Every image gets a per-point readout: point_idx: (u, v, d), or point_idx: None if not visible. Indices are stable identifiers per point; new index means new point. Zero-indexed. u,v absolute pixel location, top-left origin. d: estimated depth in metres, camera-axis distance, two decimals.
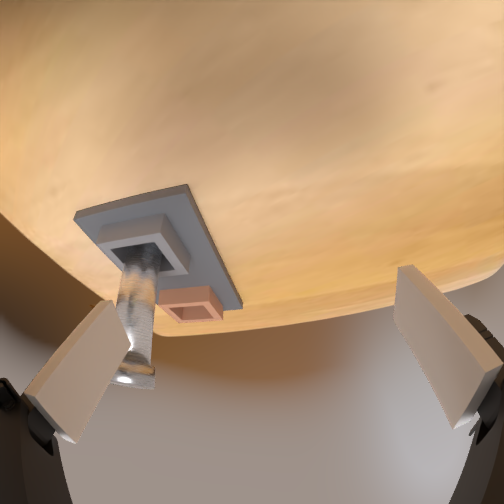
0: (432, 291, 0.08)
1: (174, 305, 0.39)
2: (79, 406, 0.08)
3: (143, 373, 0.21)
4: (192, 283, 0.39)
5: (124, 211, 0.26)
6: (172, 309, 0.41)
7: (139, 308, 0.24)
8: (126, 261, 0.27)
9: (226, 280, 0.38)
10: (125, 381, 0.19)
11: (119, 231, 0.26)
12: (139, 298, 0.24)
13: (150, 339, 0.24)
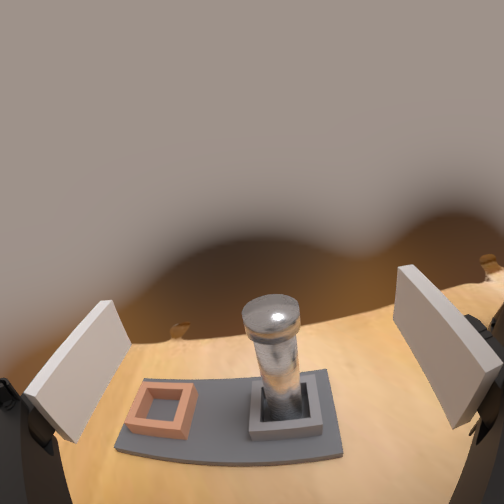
0: (432, 291, 0.08)
1: (185, 396, 0.31)
2: (79, 406, 0.08)
3: (285, 332, 0.22)
4: (197, 426, 0.29)
5: (329, 407, 0.29)
6: (173, 390, 0.33)
7: (294, 373, 0.25)
8: None
9: (190, 458, 0.24)
10: (295, 313, 0.23)
11: None
12: (295, 379, 0.25)
13: (273, 362, 0.24)
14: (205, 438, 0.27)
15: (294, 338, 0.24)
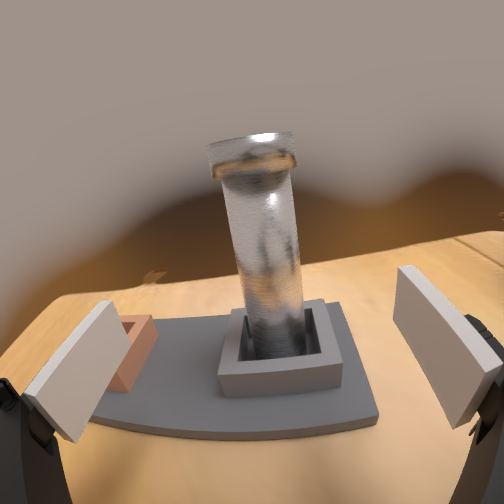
0: (432, 291, 0.08)
1: (136, 329, 0.23)
2: (79, 406, 0.08)
3: (270, 153, 0.13)
4: (148, 375, 0.20)
5: (347, 347, 0.20)
6: (124, 324, 0.24)
7: (291, 258, 0.16)
8: None
9: (126, 419, 0.16)
10: (287, 133, 0.14)
11: None
12: (293, 272, 0.16)
13: (254, 223, 0.15)
14: (155, 391, 0.18)
15: (288, 185, 0.15)
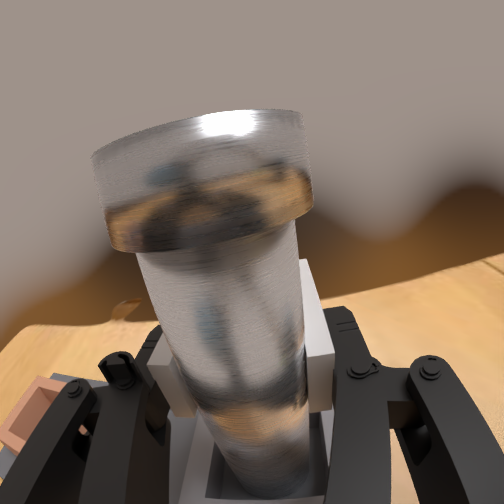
0: (306, 282, 0.11)
1: None
2: None
3: (237, 178, 0.04)
4: None
5: None
6: None
7: (291, 396, 0.07)
8: None
9: None
10: (291, 115, 0.05)
11: None
12: (295, 413, 0.07)
13: (206, 352, 0.06)
14: None
15: (292, 254, 0.06)
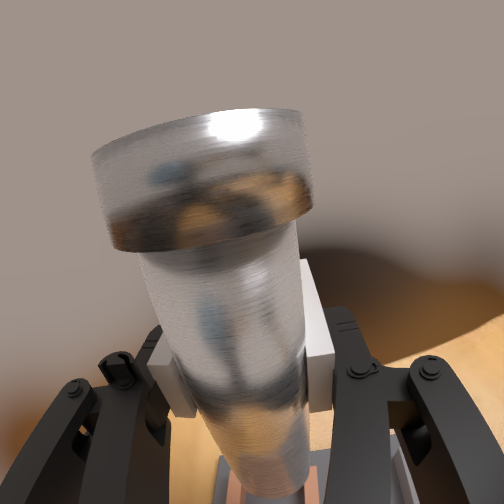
0: (305, 282, 0.11)
1: (312, 488, 0.16)
2: None
3: (238, 177, 0.04)
4: None
5: None
6: None
7: (292, 397, 0.07)
8: None
9: None
10: (292, 114, 0.05)
11: None
12: (295, 413, 0.07)
13: (206, 352, 0.06)
14: None
15: (293, 254, 0.06)
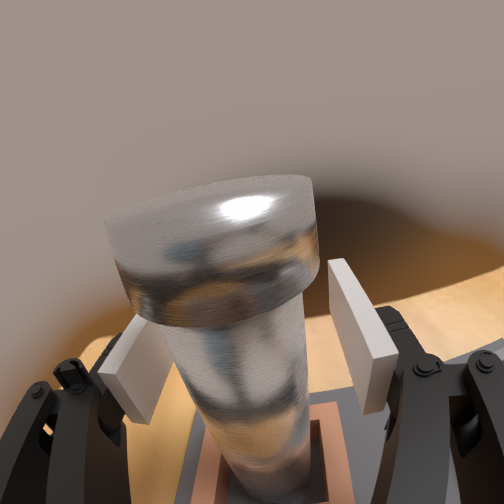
0: (350, 282, 0.10)
1: (333, 434, 0.12)
2: (151, 384, 0.09)
3: (252, 267, 0.05)
4: (362, 489, 0.10)
5: None
6: None
7: (294, 424, 0.07)
8: None
9: None
10: (301, 189, 0.05)
11: None
12: (297, 435, 0.08)
13: (221, 395, 0.06)
14: None
15: (298, 311, 0.07)
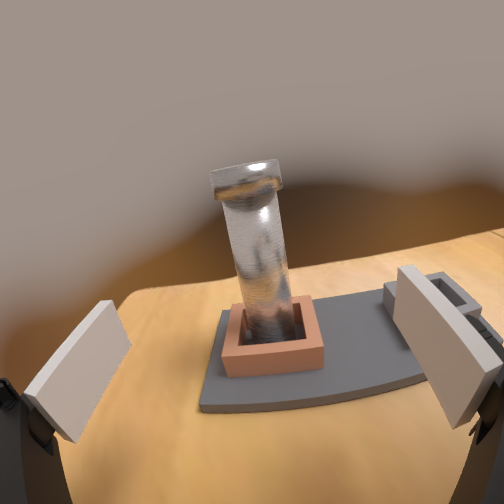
0: (432, 291, 0.08)
1: (308, 309, 0.25)
2: (79, 406, 0.08)
3: (260, 180, 0.17)
4: (330, 349, 0.23)
5: None
6: None
7: (279, 261, 0.20)
8: None
9: (340, 390, 0.18)
10: (273, 162, 0.18)
11: None
12: (281, 272, 0.21)
13: (248, 234, 0.19)
14: (349, 360, 0.21)
15: (275, 203, 0.19)
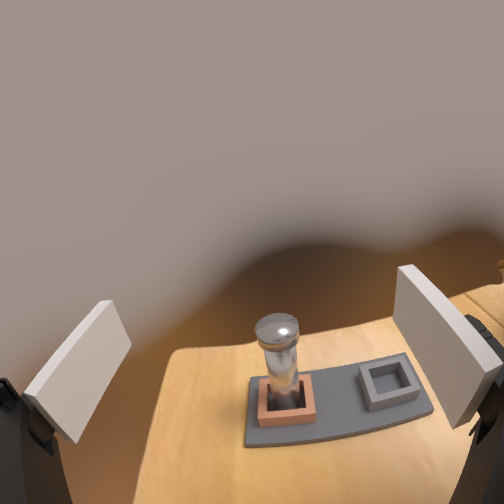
0: (432, 291, 0.08)
1: (308, 385, 0.37)
2: (79, 406, 0.08)
3: (287, 343, 0.30)
4: (320, 409, 0.35)
5: (415, 379, 0.35)
6: None
7: (293, 373, 0.32)
8: None
9: (324, 436, 0.30)
10: (295, 329, 0.30)
11: None
12: (294, 378, 0.33)
13: (278, 364, 0.31)
14: (331, 417, 0.33)
15: (294, 347, 0.32)
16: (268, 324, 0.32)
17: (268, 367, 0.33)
